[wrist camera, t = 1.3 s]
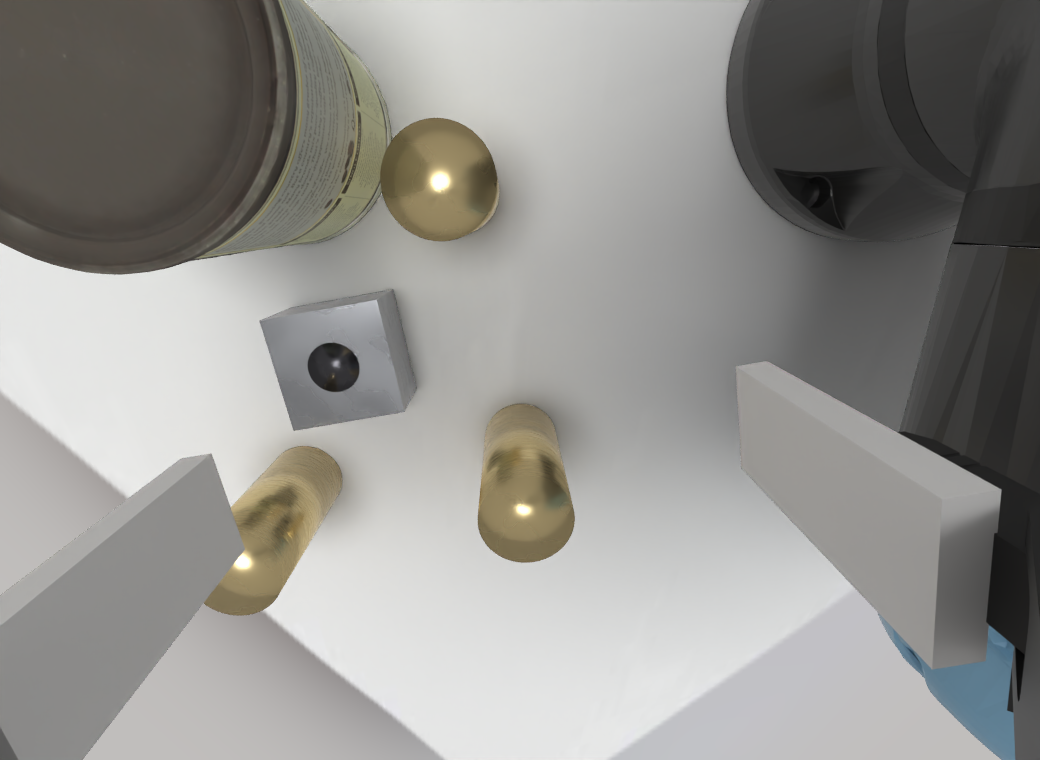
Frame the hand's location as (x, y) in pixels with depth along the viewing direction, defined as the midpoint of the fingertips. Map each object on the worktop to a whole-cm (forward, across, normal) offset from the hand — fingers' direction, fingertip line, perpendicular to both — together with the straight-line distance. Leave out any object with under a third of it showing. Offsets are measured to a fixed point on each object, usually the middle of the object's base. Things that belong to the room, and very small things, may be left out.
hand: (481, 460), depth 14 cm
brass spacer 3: (+17, 0, +6) cm, 18 cm away
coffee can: (+17, +8, -11) cm, 22 cm away
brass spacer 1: (+17, +12, +7) cm, 22 cm away
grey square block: (+17, +8, 0) cm, 18 cm away
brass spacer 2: (+17, 0, -7) cm, 18 cm away
